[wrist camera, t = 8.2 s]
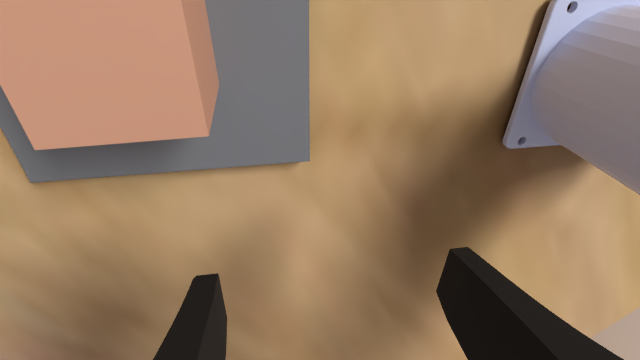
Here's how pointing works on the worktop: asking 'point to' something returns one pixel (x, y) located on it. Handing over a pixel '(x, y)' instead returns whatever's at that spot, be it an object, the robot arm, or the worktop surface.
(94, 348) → the worktop surface
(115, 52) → the cube
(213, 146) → the mat
